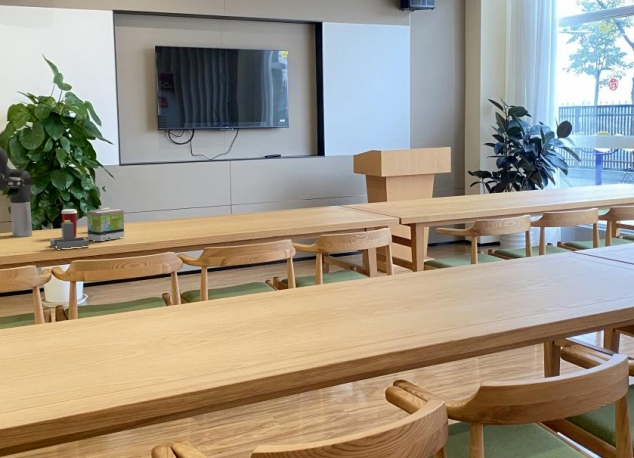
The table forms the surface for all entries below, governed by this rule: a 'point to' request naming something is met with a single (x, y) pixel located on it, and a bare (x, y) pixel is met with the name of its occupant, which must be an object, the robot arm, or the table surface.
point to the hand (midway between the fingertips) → (32, 181)
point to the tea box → (105, 224)
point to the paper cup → (70, 218)
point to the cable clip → (52, 242)
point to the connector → (67, 231)
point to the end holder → (71, 243)
